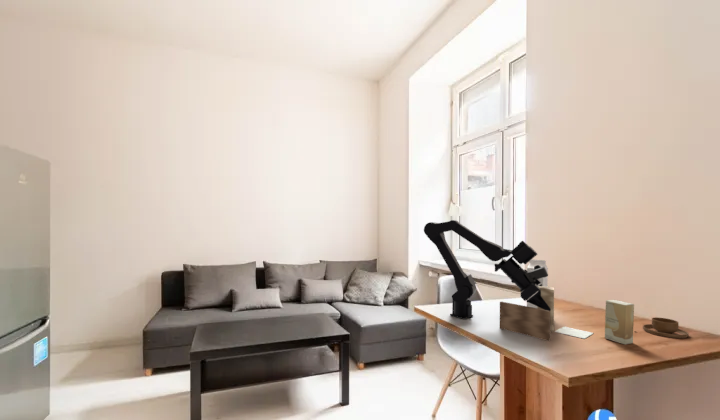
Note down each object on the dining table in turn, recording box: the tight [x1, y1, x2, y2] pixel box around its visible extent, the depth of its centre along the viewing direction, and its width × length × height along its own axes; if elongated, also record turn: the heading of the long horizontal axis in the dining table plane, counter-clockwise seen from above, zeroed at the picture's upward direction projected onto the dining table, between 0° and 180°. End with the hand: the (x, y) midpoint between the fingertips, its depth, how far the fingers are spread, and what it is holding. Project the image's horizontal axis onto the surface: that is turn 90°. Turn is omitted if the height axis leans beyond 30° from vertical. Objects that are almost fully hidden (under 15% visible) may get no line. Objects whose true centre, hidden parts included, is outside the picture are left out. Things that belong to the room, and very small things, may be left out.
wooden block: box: [537, 286, 555, 332], centre depth 123 cm, size 5×5×14 cm
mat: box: [553, 326, 594, 340], centre depth 119 cm, size 9×9×1 cm
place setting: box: [634, 316, 690, 339], centre depth 124 cm, size 18×20×6 cm
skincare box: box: [604, 299, 635, 345], centre depth 112 cm, size 6×4×12 cm
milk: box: [526, 258, 549, 308], centre depth 140 cm, size 6×6×22 cm
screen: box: [499, 301, 551, 342], centre depth 117 cm, size 16×1×9 cm, turn 41°
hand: (550, 307), depth 123 cm, fingers open, 9 cm apart
